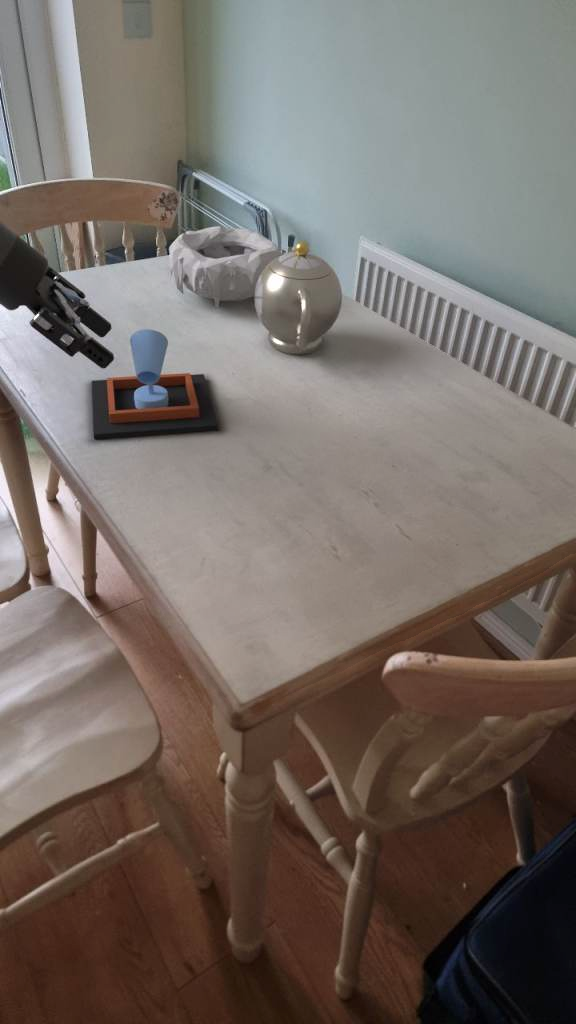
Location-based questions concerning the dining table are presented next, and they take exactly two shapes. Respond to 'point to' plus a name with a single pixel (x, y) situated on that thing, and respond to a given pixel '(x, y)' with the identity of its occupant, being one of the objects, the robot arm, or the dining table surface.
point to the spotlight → (149, 368)
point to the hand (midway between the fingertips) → (108, 346)
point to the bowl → (220, 262)
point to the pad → (125, 420)
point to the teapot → (298, 300)
